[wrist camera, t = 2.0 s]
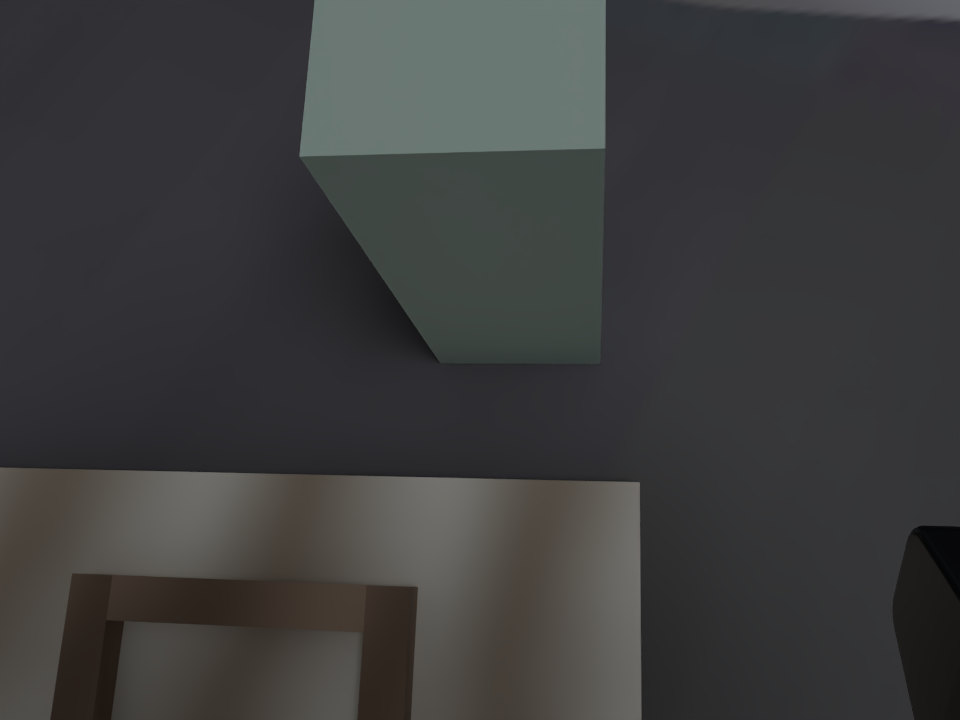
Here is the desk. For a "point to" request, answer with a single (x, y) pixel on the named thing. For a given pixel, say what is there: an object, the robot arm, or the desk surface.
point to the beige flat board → (317, 597)
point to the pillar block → (469, 165)
